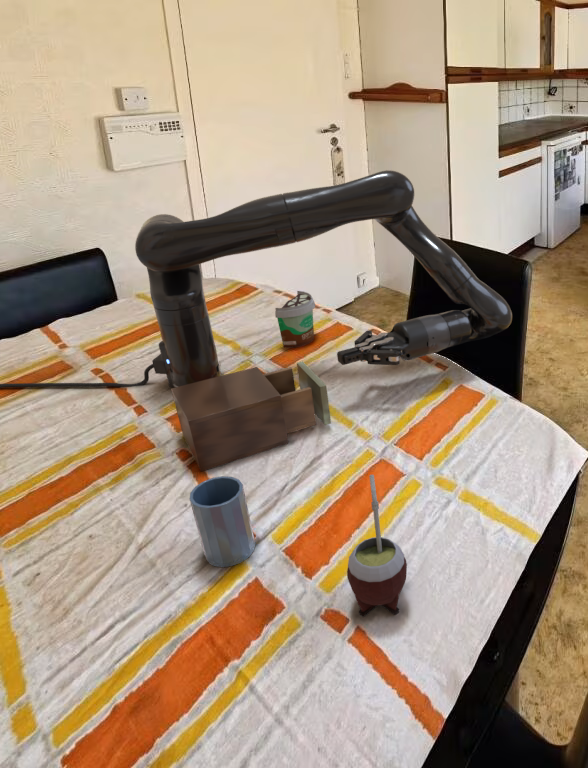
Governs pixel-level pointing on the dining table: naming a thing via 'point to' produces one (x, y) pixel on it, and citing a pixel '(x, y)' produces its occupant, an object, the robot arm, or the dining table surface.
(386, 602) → the mate gourd
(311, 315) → the food container
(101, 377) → the dining table surface
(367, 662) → the dining table surface
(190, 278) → the robot arm
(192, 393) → the cabinet
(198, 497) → the cup
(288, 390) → the drawer
